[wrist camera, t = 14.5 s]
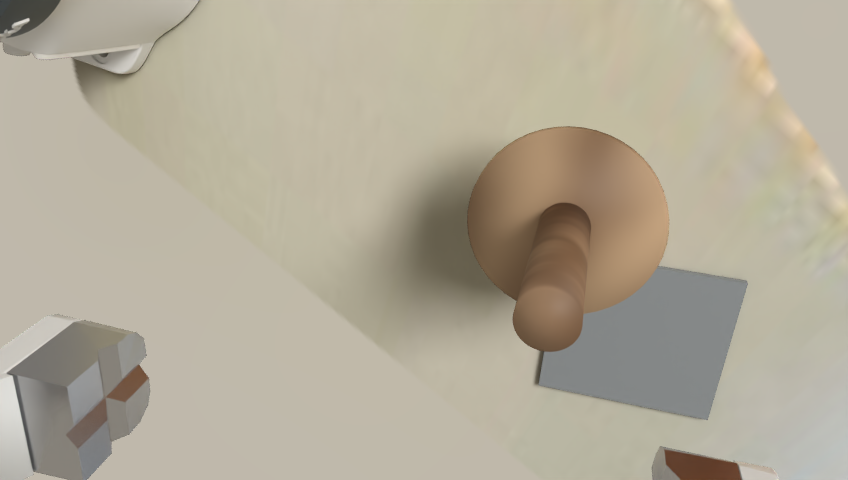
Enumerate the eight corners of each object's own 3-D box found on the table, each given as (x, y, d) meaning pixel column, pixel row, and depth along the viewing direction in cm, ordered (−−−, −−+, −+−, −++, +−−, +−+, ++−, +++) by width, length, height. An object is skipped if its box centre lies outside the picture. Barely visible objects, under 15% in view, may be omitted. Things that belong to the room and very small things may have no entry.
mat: (539, 381, 48) (538, 385, 47) (561, 249, 44) (560, 252, 43) (706, 416, 45) (707, 420, 45) (746, 280, 41) (747, 283, 41)
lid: (459, 289, 39) (409, 400, 29) (481, 113, 35) (430, 174, 25) (644, 326, 37) (654, 457, 27) (690, 143, 33) (720, 222, 23)
